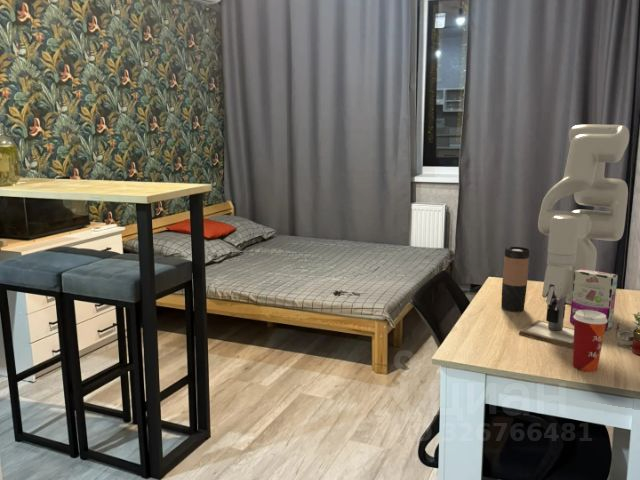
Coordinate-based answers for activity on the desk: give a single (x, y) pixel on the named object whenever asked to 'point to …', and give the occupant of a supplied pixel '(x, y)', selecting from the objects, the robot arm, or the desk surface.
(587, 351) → the paper cup
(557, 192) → the robot arm
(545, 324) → the clipboard
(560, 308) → the marker
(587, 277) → the candy bar box
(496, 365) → the desk surface
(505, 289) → the travel mug
